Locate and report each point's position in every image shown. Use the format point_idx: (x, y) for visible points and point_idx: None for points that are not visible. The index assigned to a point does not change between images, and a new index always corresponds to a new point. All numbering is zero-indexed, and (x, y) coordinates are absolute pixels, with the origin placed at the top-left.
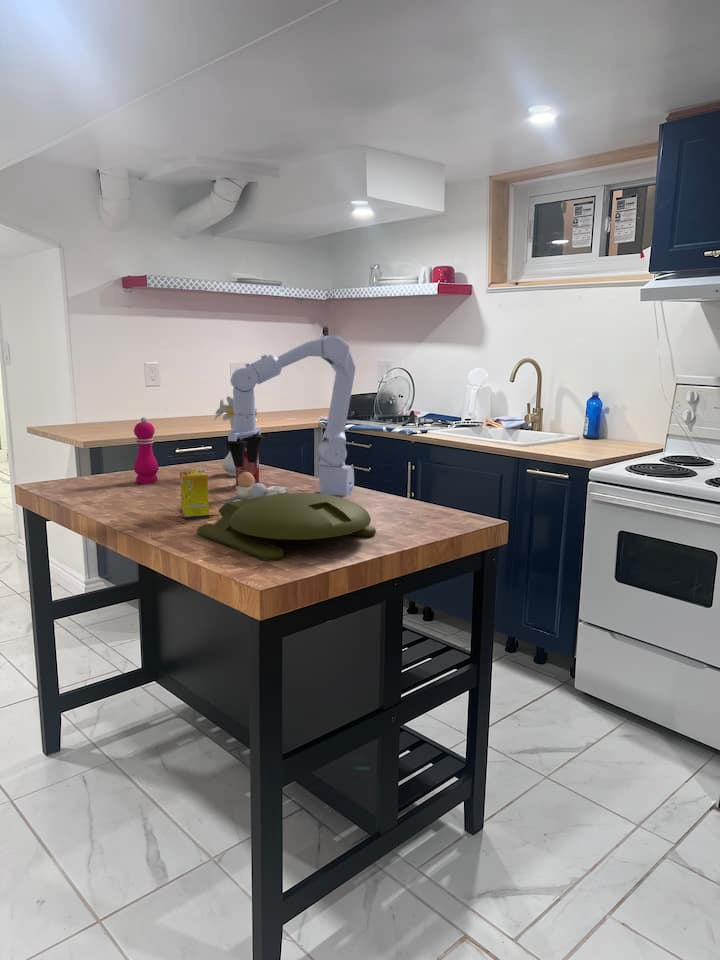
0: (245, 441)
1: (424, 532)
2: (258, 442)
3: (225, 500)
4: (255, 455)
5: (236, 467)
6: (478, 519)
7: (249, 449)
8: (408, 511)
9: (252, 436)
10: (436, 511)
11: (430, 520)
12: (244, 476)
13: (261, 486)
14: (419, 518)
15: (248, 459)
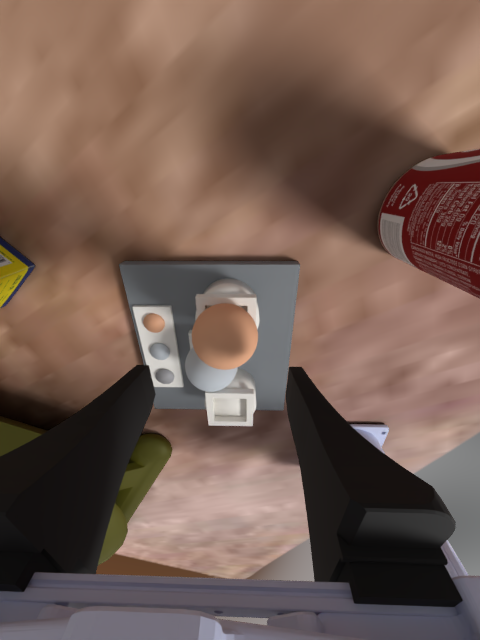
0: (329, 477)
1: (160, 550)
2: (311, 537)
3: (154, 269)
4: (293, 429)
5: (471, 176)
6: (243, 571)
7: (308, 433)
8: (255, 532)
9: (342, 579)
10: (268, 548)
11: (217, 549)
12: (196, 353)
13: (200, 389)
14: (222, 542)
15: (291, 377)
